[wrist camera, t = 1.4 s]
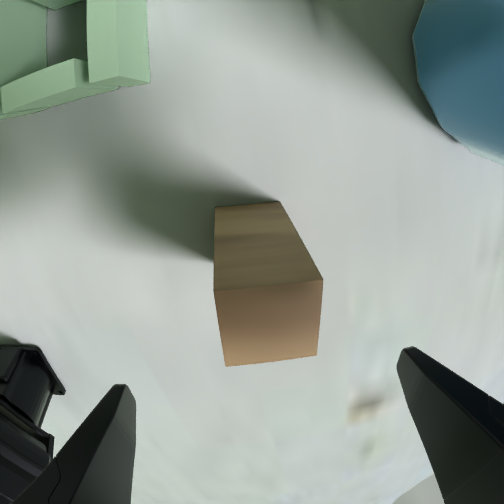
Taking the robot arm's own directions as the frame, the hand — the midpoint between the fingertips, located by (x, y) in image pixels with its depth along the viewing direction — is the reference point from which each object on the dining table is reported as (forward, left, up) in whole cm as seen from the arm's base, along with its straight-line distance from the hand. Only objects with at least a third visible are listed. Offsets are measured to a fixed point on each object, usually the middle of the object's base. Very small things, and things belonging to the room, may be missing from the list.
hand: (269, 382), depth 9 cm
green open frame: (+13, +9, -12) cm, 20 cm away
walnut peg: (-1, 0, -12) cm, 12 cm away
